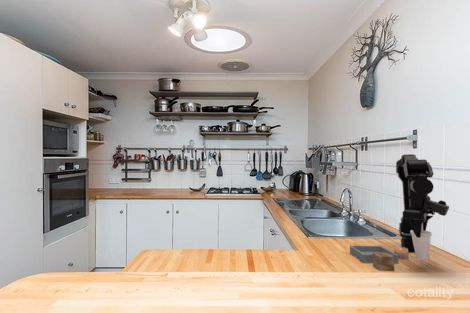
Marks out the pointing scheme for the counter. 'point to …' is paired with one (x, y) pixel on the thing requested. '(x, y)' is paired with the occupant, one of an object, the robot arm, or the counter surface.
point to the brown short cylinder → (401, 252)
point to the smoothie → (422, 244)
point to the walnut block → (383, 261)
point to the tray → (370, 253)
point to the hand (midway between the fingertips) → (420, 236)
